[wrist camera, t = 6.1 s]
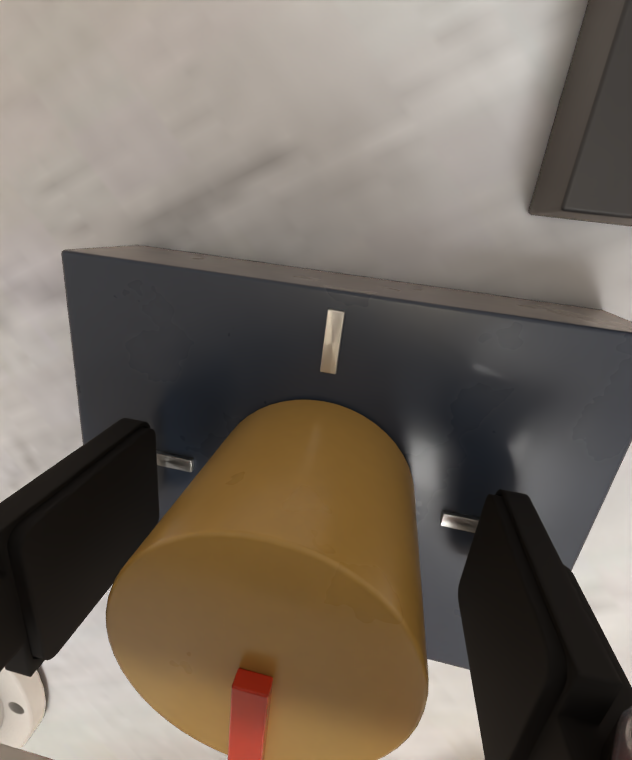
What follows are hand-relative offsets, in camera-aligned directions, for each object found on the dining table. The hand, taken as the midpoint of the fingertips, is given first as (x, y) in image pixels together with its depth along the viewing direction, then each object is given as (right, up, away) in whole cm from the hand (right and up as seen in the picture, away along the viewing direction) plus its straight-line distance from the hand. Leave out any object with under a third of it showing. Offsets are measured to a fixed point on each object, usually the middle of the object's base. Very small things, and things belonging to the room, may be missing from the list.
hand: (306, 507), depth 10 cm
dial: (0, 0, +1) cm, 1 cm away
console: (+1, +1, +3) cm, 4 cm away
